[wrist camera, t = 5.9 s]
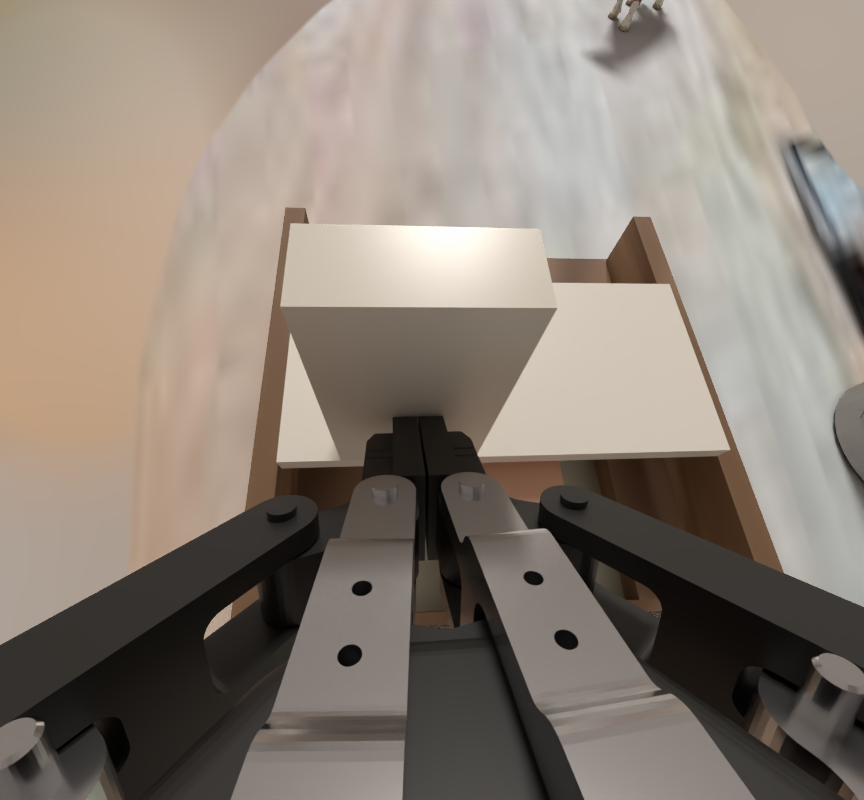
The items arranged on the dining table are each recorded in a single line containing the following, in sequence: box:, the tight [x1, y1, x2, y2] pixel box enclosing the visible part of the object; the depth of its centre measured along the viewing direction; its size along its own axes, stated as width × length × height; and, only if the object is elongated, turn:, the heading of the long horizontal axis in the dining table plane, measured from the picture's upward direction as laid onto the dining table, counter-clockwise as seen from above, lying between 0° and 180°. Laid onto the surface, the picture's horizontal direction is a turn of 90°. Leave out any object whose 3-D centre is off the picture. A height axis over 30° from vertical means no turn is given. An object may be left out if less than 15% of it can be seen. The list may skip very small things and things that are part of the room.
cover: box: [276, 223, 730, 468], centre depth 14 cm, size 18×8×10 cm, turn 93°
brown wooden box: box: [231, 208, 784, 626], centre depth 22 cm, size 20×20×6 cm
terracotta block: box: [481, 461, 564, 503], centre depth 19 cm, size 4×4×4 cm
